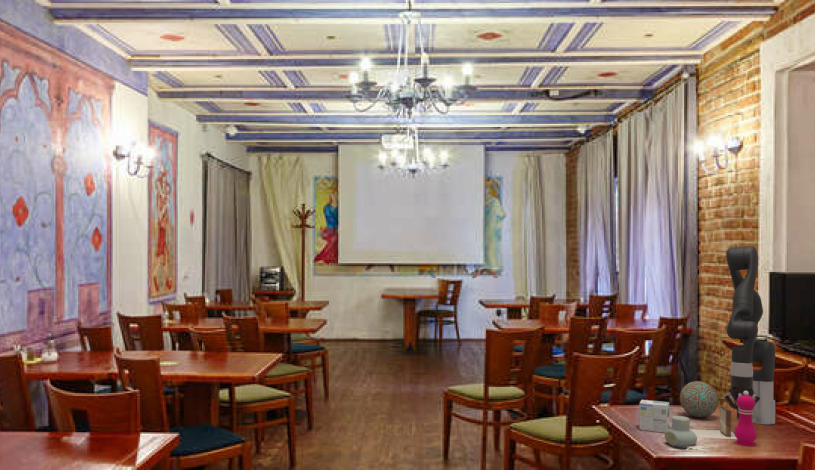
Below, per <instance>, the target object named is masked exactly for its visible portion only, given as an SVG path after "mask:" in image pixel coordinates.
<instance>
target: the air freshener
mask: <svg viewBox="0 0 815 470" xmlns="http://www.w3.org/2000/svg"><path fill="white" fill-rule="evenodd" d="M690 421H691V420H690V418H689V417H687V416H683V415H675V416H673V417H672V418H671V428H669V429H668V430H667V431H666V432H665V433H664V439H665V441H666V442H667V443H668V444H669V445H671V446H672V447H674V448H680V449H681V448H683V449H684V448H688V447H690V446H694V445H695V444H696V443H697V442H698V438H697V436H696V435H695V433H694V432H693V431H691V430H690V429H691V428H690Z"/></svg>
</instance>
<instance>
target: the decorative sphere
mask: <svg viewBox="0 0 815 470" xmlns="http://www.w3.org/2000/svg"><path fill="white" fill-rule="evenodd" d="M679 402H680V405H681V407H682V409H683V410H684V412H685V413H687V414H688V415H690V416H691V417H695V418H699V419H700V418H708V417H710V416H711V415H712V414H714V413H715V412H716V410H717V409H718V405H719V397H718V394H717V392H716V390H715V389H714V387H713V386H712V385H710V384H709V383H707V382H704V381H700V380H694V381H690V382H688V383H687V384H685V385H684V386H683V387H682V388H681V391H680V392H679Z"/></svg>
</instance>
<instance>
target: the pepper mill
mask: <svg viewBox="0 0 815 470" xmlns="http://www.w3.org/2000/svg"><path fill="white" fill-rule="evenodd" d="M743 394H744V395H741V396H739V397H738V398H737V405H738V406H739V408H738V412H739V415H740V417H739V420H738V422H737V424H736V427H735V429H734V433H735V437H736V438H737V439H736V441H735V443H736V444H737V445H739V446H743V447H755V446H756V442H755V441H756V440H757V438H758V434H757V431H756V428H755V426H754V423H753V422H752V414H753V411H754V410H753V408H754V406H755V400H754V399H753V398H752V397H751V396H748V395H749V393H748V391H744V392H743Z"/></svg>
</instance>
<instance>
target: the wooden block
mask: <svg viewBox="0 0 815 470" xmlns="http://www.w3.org/2000/svg"><path fill="white" fill-rule="evenodd" d="M719 411H720V414H719V416H720V417H719V419H720V421H719V422H720V423H719V430H720V432H721V433H722V434H723V435H725V436H726V437H731V431H732V409H731V408H729V407H727V406H726V405H720V406H719Z"/></svg>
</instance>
